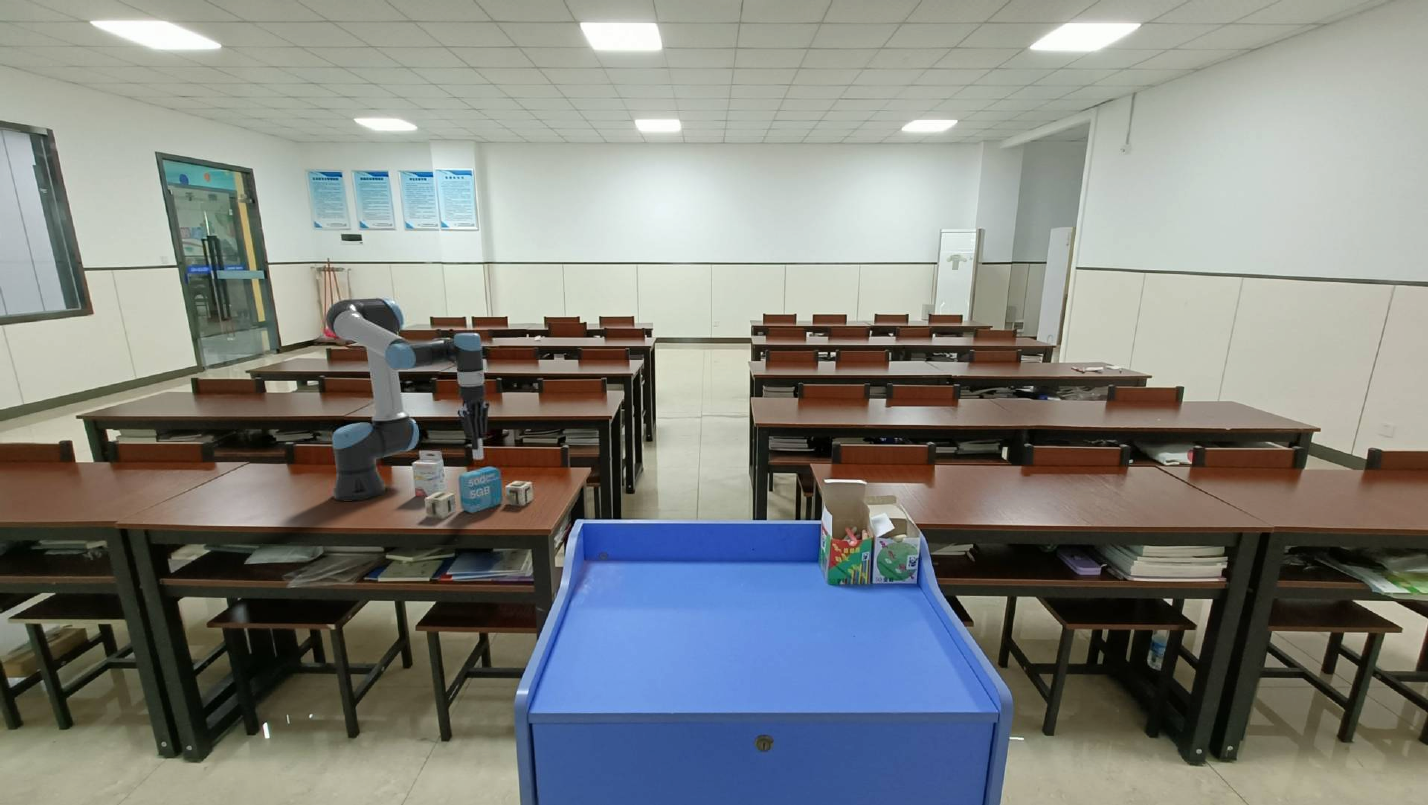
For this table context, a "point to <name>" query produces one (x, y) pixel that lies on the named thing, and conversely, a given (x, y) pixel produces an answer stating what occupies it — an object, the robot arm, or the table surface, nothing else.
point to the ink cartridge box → (429, 474)
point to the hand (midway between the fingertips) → (478, 458)
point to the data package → (480, 489)
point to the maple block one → (440, 505)
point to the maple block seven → (519, 493)
